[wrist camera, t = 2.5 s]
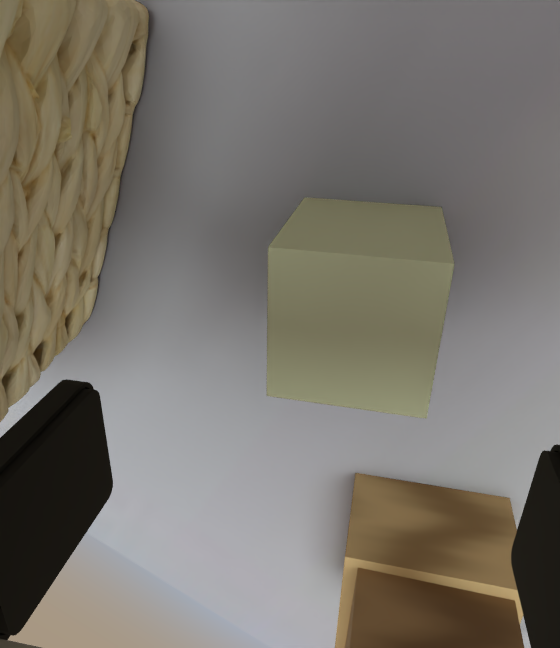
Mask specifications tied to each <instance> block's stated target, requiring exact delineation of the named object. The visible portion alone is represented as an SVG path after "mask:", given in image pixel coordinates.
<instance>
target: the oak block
mask: <svg viewBox="0 0 560 648" xmlns="http://www.w3.org/2000/svg"><path fill="white" fill-rule="evenodd" d="M516 533H517V529H516V525H515V520H514V516H513V512H512V507H511V503H510V499H509V498H506V497H500V496H494V495H488V494H482V493H476V492H469V491H463V490H457V489H451V488H445V487H439V486H433V485H427V484H421V483H415V482H408V481H402V480H396V479H390V478H384V477H378V476H372V475H366V474H360V473H356V474H355V482H354V490H353V498H352V506H351V514H350V521H349V529H348V537H347V545H346V553H345V562H344V571H343V580H342V589H341V598H340V607H339V616H338V625H337V634H336V643H335V648H345V644H346V638H347V632H348V625H349V619H350V613H351V607H352V600H353V594H354V588H355V582H356V576H357V569H358V567H359V568H363V569H368V570H373V571H378V572H382V573H387V574H392V575H397V576H401V577H406V578H411V579H416V580H420V581H425V582H430V583H435V584H439V585H444V586H449V587H453V588H458V589H463V590H468V591H472V592H477V593H482V594H487V595H491V596H496V597H501V598H505V599H510V600H515V603H516V608H517V613H518V619H519V624H520V622H521V620H522V617H523V611H522V607H521V603H520V599H519V595H518V590H517V586H516V582H515V578H514V574H513V570H512V564H511V550H512V546H513V542H514V539H515V536H516Z"/></svg>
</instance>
